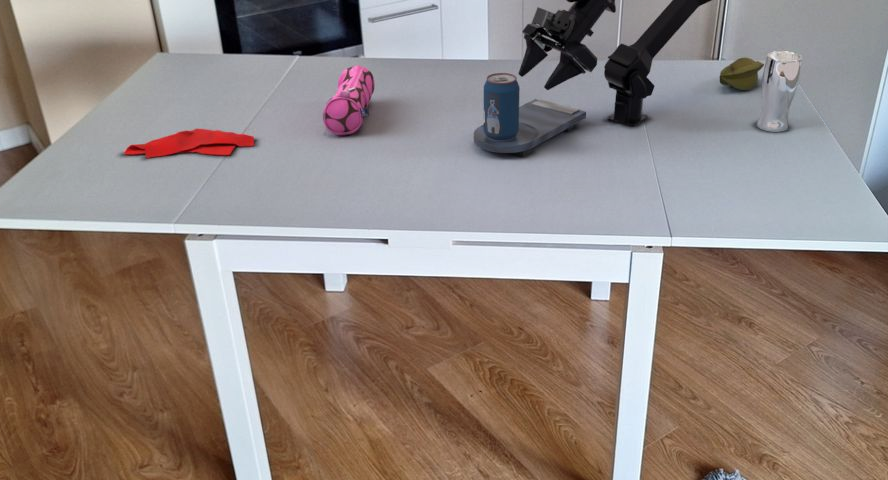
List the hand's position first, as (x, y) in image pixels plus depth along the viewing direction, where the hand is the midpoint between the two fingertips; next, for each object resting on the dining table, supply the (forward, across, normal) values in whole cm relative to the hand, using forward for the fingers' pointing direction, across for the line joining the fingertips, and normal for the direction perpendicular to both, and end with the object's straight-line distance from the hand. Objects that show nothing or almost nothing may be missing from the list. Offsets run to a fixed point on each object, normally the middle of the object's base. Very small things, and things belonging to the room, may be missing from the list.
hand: (532, 82), depth 177 cm
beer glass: (-24, +19, +43) cm, 53 cm away
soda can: (+12, 0, +2) cm, 12 cm away
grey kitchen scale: (+9, -3, +9) cm, 13 cm away
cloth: (+52, -36, -34) cm, 71 cm away
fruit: (-32, -3, +51) cm, 60 cm away
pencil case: (+27, -31, -9) cm, 43 cm away
